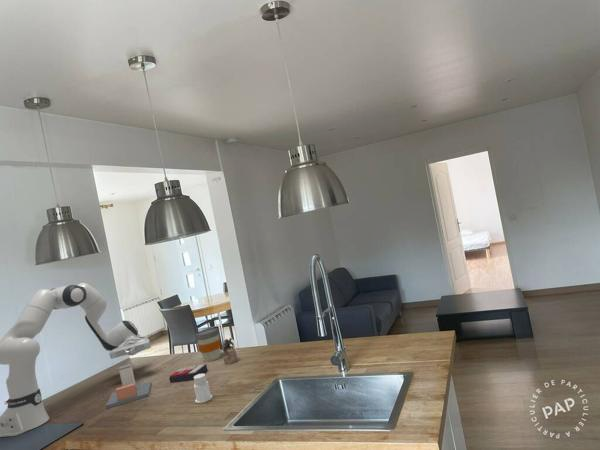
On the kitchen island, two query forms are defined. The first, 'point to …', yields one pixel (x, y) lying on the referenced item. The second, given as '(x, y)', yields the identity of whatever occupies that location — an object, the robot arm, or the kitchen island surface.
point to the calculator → (187, 373)
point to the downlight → (201, 389)
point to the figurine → (229, 352)
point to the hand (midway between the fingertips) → (128, 352)
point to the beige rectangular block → (126, 375)
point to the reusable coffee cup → (209, 344)
